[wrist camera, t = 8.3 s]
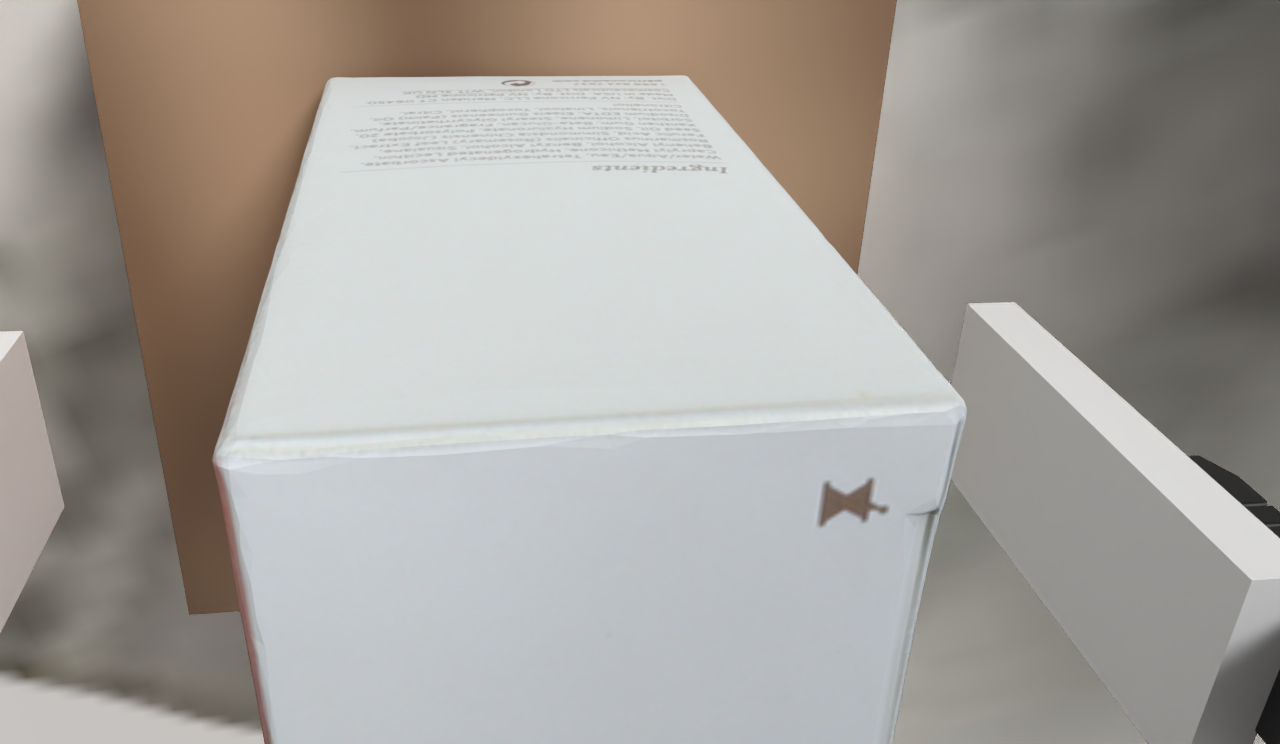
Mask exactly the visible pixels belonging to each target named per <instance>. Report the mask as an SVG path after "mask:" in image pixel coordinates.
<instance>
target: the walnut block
mask: <svg viewBox="0 0 1280 744" xmlns="http://www.w3.org/2000/svg"><path fill="white" fill-rule="evenodd" d="M77 1H78V7H79V12H80V18H81V23H82V29H83V34H84V40H85V45H86V51H87V56H88V62H89V67H90V73H91V78H92V84H93V89H94V95H95V100H96V106H97V111H98V117H99V122H100V127H101V133H102V138H103V144H104V149H105V155H106V160H107V166H108V171H109V177H110V182H111V188H112V193H113V199H114V204H115V210H116V215H117V221H118V226H119V232H120V237H121V243H122V248H123V254H124V259H125V264H126V270H127V275H128V281H129V286H130V292H131V297H132V303H133V308H134V314H135V319H136V325H137V330H138V336H139V341H140V347H141V352H142V358H143V363H144V369H145V374H146V380H147V385H148V391H149V396H150V402H151V407H152V412H153V418H154V423H155V429H156V434H157V440H158V445H159V451H160V456H161V462H162V467H163V473H164V478H165V484H166V489H167V495H168V500H169V506H170V511H171V517H172V522H173V528H174V533H175V539H176V544H177V549H178V555H179V560H180V566H181V571H182V577H183V582H184V588H185V593H186V599H187V604H188V610H189V615H190V614H205V613H219V612H233V611H240V607H239V601H238V596H237V591H236V585H235V580H234V574H233V568H232V563H231V557H230V552H229V546H228V541H227V535H226V529H225V524H224V518H223V512H222V507H221V501H220V495H219V490H218V484H217V480H216V476H215V471H214V467H213V463H212V457H213V454H214V450H215V447H216V444H217V441H218V438H219V435H220V432H221V429H222V426H223V423H224V420H225V417H226V413H227V410H228V406H229V403H230V400H231V396H232V393H233V390H234V387H235V384H236V381H237V377H238V374H239V371H240V367H241V364H242V361H243V358H244V355H245V351H246V348H247V345H248V341H249V338H250V334H251V331H252V328H253V324H254V321H255V317H256V314H257V310H258V307H259V303H260V300H261V296H262V293H263V290H264V286H265V283H266V280H267V277H268V274H269V270H270V267H271V264H272V260H273V257H274V253H275V250H276V246H277V243H278V240H279V237H280V234H281V231H282V226H283V223H284V219H285V216H286V213H287V209H288V206H289V203H290V200H291V197H292V194H293V191H294V187H295V183H296V180H297V177H298V174H299V171H300V166H301V163H302V159H303V156H304V152H305V149H306V146H307V143H308V139H309V136H310V133H311V130H312V127H313V123H314V119H315V116H316V113H317V110H318V107H319V104H320V101H321V98H322V94H323V91H324V88H325V84H326V83H327V81H328V80H329V79H331V78H335V77H349V78H358V77H466V76H671V75H685V76H688V77H689V78H690V80H691V81H692V82H693V83H694V84H695V85H696V86H697V87H698V89H699V90H700V91H701V92H702V93H703V94H704V96H705V97H706V98H707V99H708V101H709V102H710V103H711V104H712V105H713V106H714V108H715V109H716V110H717V111H718V112H719V113H720V114H721V116H722V117H723V118H724V119H725V120H726V121H727V122H728V124H729V125H730V126H731V127H732V129H733V130H734V131H735V132H736V133H737V134H738V136H739V137H740V138H741V139H742V140H743V141H744V142H745V143H746V145H747V146H748V147H749V148H750V149H751V151H752V152H753V153H754V154H755V155H756V157H757V158H758V159H759V160H760V161H761V163H762V164H763V165H764V166H765V167H766V169H767V170H768V171H769V172H770V173H771V174H772V176H773V177H774V178H775V179H776V180H777V181H778V182H779V184H780V185H781V186H782V187H783V188H784V189H785V190H786V192H787V193H788V194H789V195H790V196H791V198H792V199H793V200H794V201H795V202H796V203H797V205H798V206H799V207H800V208H801V209H802V211H803V212H804V213H805V214H806V215H807V216H808V218H809V219H810V220H811V221H812V222H813V223H814V225H815V226H816V227H817V228H818V229H819V231H820V232H821V233H822V234H823V236H824V237H825V239H826V240H827V241H828V242H829V243H830V244H831V245H832V246H833V247H834V248H835V250H836V251H837V252H838V253H839V254H840V255H841V257H842V258H843V259H844V260H845V261H846V263H847V264H848V265H849V266H850V267H851V268H852V270H853V271H854V272H855V273H856V274H857V273H858V266H859V259H860V252H861V245H862V238H863V231H864V224H865V217H866V210H867V203H868V196H869V189H870V182H871V176H872V169H873V162H874V155H875V148H876V141H877V134H878V127H879V120H880V113H881V106H882V99H883V92H884V85H885V78H886V71H887V65H888V58H889V51H890V44H891V37H892V30H893V23H894V16H895V9H896V2H897V0H77Z"/></svg>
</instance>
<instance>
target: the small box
mask: <svg viewBox="0 0 1280 744" xmlns="http://www.w3.org/2000/svg"><path fill="white" fill-rule="evenodd" d="M966 414H967V408H966V405H965V402H964V400H963V399H962V397H961V396H960V395H959V394H958V393H957V391H956V390H955V389H954V388H953V387H952V385H951V384H950V383H949V382H948V381H947V380H946V379H945V378H944V377H943V375H942V374H941V373H940V372H939V371H938V370H937V369H936V367H935V366H934V365H933V364H932V363H931V361H930V360H929V359H928V358H927V357H926V355H925V354H924V353H923V352H922V351H921V349H920V348H919V347H918V346H917V345H916V343H915V342H914V341H913V340H912V338H911V337H910V336H909V335H908V334H907V333H906V331H905V330H904V329H903V328H902V327H901V326H900V325H899V324H898V322H897V321H896V320H895V319H894V317H893V316H892V315H891V314H890V312H889V311H888V310H887V309H886V308H885V307H884V305H883V304H882V303H881V302H880V301H879V300H878V299H877V297H876V296H875V295H874V294H873V293H872V292H871V291H870V289H869V288H868V287H867V286H866V285H865V284H864V282H863V281H862V280H861V279H860V278H859V277H858V275H857V274H856V273H855V272H854V271H853V270H852V268H851V267H850V266H849V265H848V264H847V263H846V261H845V260H844V259H843V258H842V257H841V255H840V254H839V253H838V252H837V251H836V250H835V248H834V247H833V246H832V245H831V244H830V243H829V242H828V241H827V240H826V239H825V237H824V236H823V234H822V233H821V232H820V231H819V229H818V228H817V227H816V226H815V225H814V223H813V222H812V221H811V220H810V219H809V218H808V216H807V215H806V214H805V213H804V212H803V211H802V209H801V208H800V207H799V206H798V205H797V203H796V202H795V201H794V200H793V199H792V198H791V196H790V195H789V194H788V193H787V192H786V190H785V189H784V188H783V187H782V186H781V185H780V184H779V182H778V181H777V180H776V179H775V178H774V177H773V176H772V174H771V173H770V172H769V171H768V170H767V169H766V167H765V166H764V165H763V164H762V163H761V161H760V160H759V159H758V158H757V157H756V155H755V154H754V153H753V152H752V151H751V149H750V148H749V147H748V146H747V145H746V143H745V142H744V141H743V140H742V139H741V138H740V137H739V136H738V134H737V133H736V132H735V131H734V130H733V129H732V127H731V126H730V125H729V124H728V122H727V121H726V120H725V119H724V118H723V117H722V116H721V114H720V113H719V112H718V111H717V110H716V109H715V108H714V106H713V105H712V104H711V103H710V102H709V101H708V99H707V98H706V97H705V96H704V94H703V93H702V92H701V91H700V90H699V89H698V87H697V86H696V85H695V84H694V83H693V82H692V81H691V80H690V78H689V77H688V76H685V75H671V76H466V77H358V78H349V77H335V78H331V79H329V80H328V81H327V83H326V84H325V88H324V91H323V94H322V98H321V101H320V104H319V107H318V110H317V113H316V116H315V119H314V123H313V127H312V130H311V133H310V136H309V139H308V143H307V146H306V149H305V152H304V156H303V159H302V163H301V166H300V171H299V174H298V177H297V180H296V183H295V187H294V191H293V194H292V197H291V200H290V203H289V206H288V209H287V213H286V216H285V219H284V223H283V226H282V231H281V234H280V237H279V240H278V243H277V246H276V250H275V253H274V257H273V260H272V264H271V267H270V270H269V274H268V277H267V280H266V283H265V286H264V290H263V293H262V296H261V300H260V303H259V307H258V310H257V314H256V317H255V321H254V324H253V328H252V331H251V334H250V338H249V341H248V345H247V348H246V351H245V355H244V358H243V361H242V364H241V367H240V371H239V374H238V377H237V381H236V384H235V387H234V390H233V393H232V396H231V400H230V403H229V406H228V410H227V413H226V417H225V420H224V423H223V426H222V429H221V432H220V435H219V438H218V441H217V444H216V447H215V450H214V454H213V457H212V463H213V467H214V471H215V476H216V480H217V484H218V490H219V495H220V501H221V507H222V512H223V518H224V524H225V529H226V535H227V541H228V546H229V552H230V557H231V563H232V568H233V574H234V580H235V585H236V591H237V596H238V601H239V607H240V612H241V617H242V623H243V628H244V633H245V638H246V644H247V649H248V654H249V660H250V665H251V670H252V676H253V681H254V686H255V692H256V697H257V703H258V708H259V714H260V720H261V725H262V731H263V737H264V742H265V744H892V742H893V737H894V731H895V726H896V721H897V716H898V712H899V707H900V702H901V696H902V691H903V686H904V681H905V675H906V670H907V664H908V659H909V655H910V650H911V646H912V641H913V635H914V629H915V624H916V619H917V615H918V610H919V606H920V601H921V596H922V592H923V587H924V583H925V578H926V573H927V569H928V564H929V560H930V555H931V551H932V546H933V541H934V537H935V533H936V529H937V525H938V521H939V518H940V515H941V512H942V510H943V507H944V504H945V501H946V497H947V492H948V488H949V484H950V480H951V475H952V471H953V467H954V463H955V459H956V455H957V451H958V448H959V444H960V440H961V436H962V433H963V429H964V425H965V420H966Z"/></svg>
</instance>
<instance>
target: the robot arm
mask: <svg viewBox="0 0 1280 744" xmlns="http://www.w3.org/2000/svg"><path fill="white" fill-rule="evenodd" d="M951 385H952V387H953V388H954V389H955V390H956V391H957V393H958V394H959V395H960V396H961V397H962V399H963V400H964V402H965V405H966V408H967V414H966V420H965V425H964V429H963V433H962V436H961V440H960V444H959V448H958V451H957V455H956V459H955V463H954V467H953V471H952V475H951V480H952V481H953V483H954V484H955V485H956V487H957V488H958V489H959V491H960V492H961V494H962V495H963V496H964V498H965V499H966V500H967V502H968V503H969V504H970V506H971V507H972V508H973V510H974V511H975V512H976V514H977V515H978V516H979V518H980V519H981V520H982V522H983V523H984V524H985V526H986V527H987V528H988V530H989V531H990V532H991V534H992V535H993V536H994V538H995V539H996V540H997V542H998V543H999V544H1000V546H1001V547H1002V549H1003V550H1004V551H1005V553H1006V554H1007V555H1008V557H1009V558H1010V559H1011V561H1012V562H1013V563H1014V565H1015V566H1016V567H1017V569H1018V570H1019V571H1020V573H1021V574H1022V575H1023V577H1024V578H1025V579H1026V581H1027V582H1028V583H1029V585H1030V586H1031V587H1032V589H1033V590H1034V591H1035V593H1036V594H1037V595H1038V597H1039V598H1040V599H1041V601H1042V602H1043V604H1044V605H1045V606H1046V608H1047V609H1048V610H1049V612H1050V613H1051V614H1052V616H1053V617H1054V618H1055V620H1056V621H1057V622H1058V624H1059V625H1060V626H1061V628H1062V629H1063V630H1064V632H1065V633H1066V634H1067V636H1068V637H1069V638H1070V640H1071V641H1072V642H1073V644H1074V645H1075V646H1076V648H1077V649H1078V650H1079V652H1080V653H1081V655H1082V656H1083V657H1084V659H1085V660H1086V661H1087V663H1088V664H1089V665H1090V667H1091V668H1092V669H1093V671H1094V672H1095V673H1096V675H1097V676H1098V677H1099V679H1100V680H1101V681H1102V683H1103V684H1104V685H1105V687H1106V688H1107V689H1108V691H1109V692H1110V693H1111V695H1112V696H1113V697H1114V699H1115V700H1116V701H1117V703H1118V704H1119V705H1120V707H1121V708H1122V710H1123V711H1124V712H1125V714H1126V715H1127V716H1128V718H1129V719H1130V720H1131V722H1132V723H1133V724H1134V726H1135V727H1136V728H1137V730H1138V731H1139V732H1140V734H1141V735H1142V736H1143V738H1144V739H1145V740H1146V742H1147V743H1148V744H1253V742H1254V740H1255V737H1256V735H1257V733H1258V735H1259V736H1260V737H1261V738H1262V739H1263V740H1264V742H1265V743H1266V744H1280V512H1279V511H1278V510H1277V509H1275V508H1274V507H1273V506H1267V501H1266V500H1265V499H1264V498H1263V497H1261V496H1260V495H1259V494H1258V493H1257V492H1256V491H1255V490H1253V489H1252V488H1251V487H1250V486H1249V485H1248V484H1246V483H1245V482H1244V481H1243V480H1242V479H1241V478H1239V477H1238V476H1236V475H1235V474H1233V473H1231V472H1229V471H1227V470H1225V469H1223V468H1221V467H1219V466H1217V465H1216V464H1214V463H1212V462H1210V461H1208V460H1206V459H1204V458H1202V457H1200V456H1187V455H1186V454H1185V453H1183V452H1182V451H1181V450H1180V449H1179V448H1178V447H1177V446H1176V445H1174V444H1173V443H1172V442H1171V441H1170V440H1169V439H1168V438H1167V437H1166V436H1164V435H1163V434H1162V433H1161V432H1160V431H1159V430H1158V429H1157V428H1155V427H1154V426H1153V425H1152V424H1151V423H1150V422H1149V421H1148V420H1146V419H1145V418H1144V417H1143V416H1142V415H1141V414H1140V413H1139V412H1137V411H1136V410H1135V409H1134V408H1133V407H1132V406H1131V405H1130V404H1128V403H1127V402H1126V401H1125V400H1124V399H1123V398H1122V397H1121V396H1119V395H1118V394H1117V393H1116V392H1115V391H1114V390H1113V389H1112V388H1111V387H1109V386H1108V385H1107V384H1106V383H1105V382H1104V381H1103V380H1102V379H1100V378H1099V377H1098V376H1097V375H1096V374H1095V373H1094V372H1093V371H1091V370H1090V369H1089V368H1088V367H1087V366H1086V365H1085V364H1084V363H1082V362H1081V361H1080V360H1079V359H1078V358H1077V357H1076V356H1075V355H1073V354H1072V353H1071V352H1070V351H1069V350H1068V349H1067V348H1066V347H1065V346H1063V345H1062V344H1061V343H1060V342H1059V341H1058V340H1057V339H1056V338H1054V337H1053V336H1052V335H1051V334H1050V333H1049V332H1048V331H1047V330H1045V329H1044V328H1043V327H1042V326H1041V325H1040V324H1039V323H1038V322H1036V321H1035V320H1034V319H1033V318H1032V317H1031V316H1030V315H1029V314H1027V313H1026V312H1025V311H1024V310H1023V309H1022V308H1021V307H1020V306H1018V305H1017V304H1016V303H1015V302H1000V303H967V306H966V312H965V317H964V322H963V327H962V332H961V337H960V342H959V347H958V352H957V357H956V363H955V368H954V373H953V378H952V383H951ZM64 507H65V506H64V502H63V498H62V494H61V489H60V485H59V481H58V476H57V472H56V468H55V464H54V459H53V455H52V451H51V447H50V442H49V438H48V434H47V430H46V425H45V421H44V417H43V413H42V408H41V404H40V400H39V396H38V391H37V387H36V383H35V379H34V374H33V370H32V366H31V362H30V357H29V353H28V349H27V345H26V340H25V336H24V332H23V331H5V332H0V633H1V631H2V629H3V627H4V625H5V623H6V621H7V619H8V617H9V615H10V613H11V611H12V609H13V607H14V605H15V604H16V602H17V600H18V598H19V596H20V594H21V592H22V590H23V588H24V586H25V584H26V582H27V580H28V578H29V576H30V574H31V572H32V570H33V568H34V566H35V564H36V562H37V560H38V558H39V556H40V554H41V552H42V550H43V548H44V546H45V544H46V542H47V540H48V538H49V536H50V534H51V532H52V530H53V529H54V527H55V525H56V523H57V521H58V519H59V517H60V515H61V513H62V511H63V509H64Z"/></svg>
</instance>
